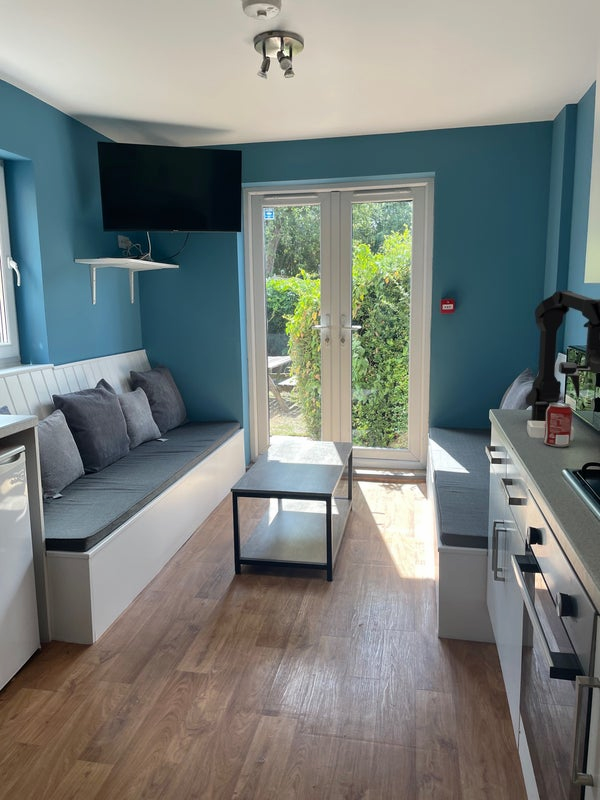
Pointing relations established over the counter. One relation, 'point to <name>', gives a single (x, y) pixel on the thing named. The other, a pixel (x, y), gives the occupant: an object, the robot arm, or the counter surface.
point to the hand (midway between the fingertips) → (592, 398)
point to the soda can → (558, 425)
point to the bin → (540, 429)
